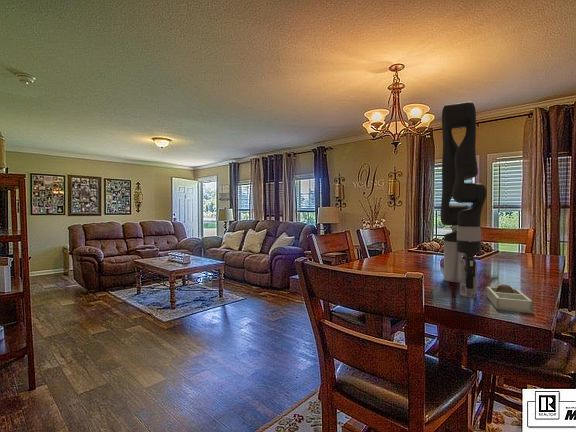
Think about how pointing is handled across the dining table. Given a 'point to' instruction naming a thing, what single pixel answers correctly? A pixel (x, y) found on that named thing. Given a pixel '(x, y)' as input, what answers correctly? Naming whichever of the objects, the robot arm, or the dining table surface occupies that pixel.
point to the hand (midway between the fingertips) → (468, 286)
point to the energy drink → (463, 290)
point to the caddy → (510, 300)
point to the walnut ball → (504, 289)
